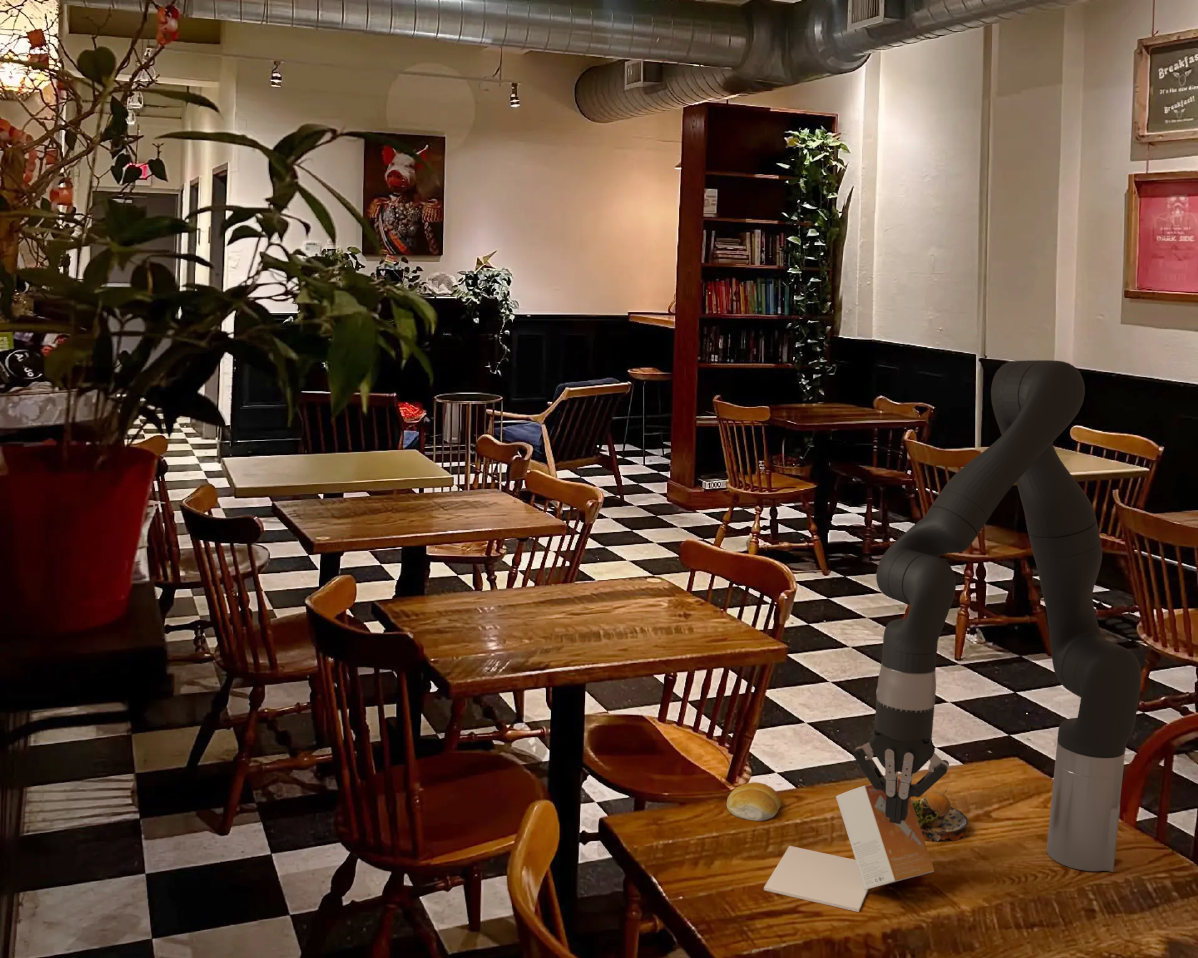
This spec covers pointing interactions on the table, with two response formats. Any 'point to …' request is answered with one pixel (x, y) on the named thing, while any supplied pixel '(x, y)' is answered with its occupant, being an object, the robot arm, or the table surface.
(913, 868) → the small box
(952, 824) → the burger
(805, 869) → the mat
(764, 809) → the bread roll
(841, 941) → the table surface
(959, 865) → the table surface
